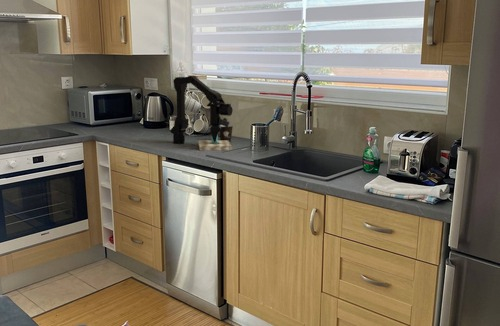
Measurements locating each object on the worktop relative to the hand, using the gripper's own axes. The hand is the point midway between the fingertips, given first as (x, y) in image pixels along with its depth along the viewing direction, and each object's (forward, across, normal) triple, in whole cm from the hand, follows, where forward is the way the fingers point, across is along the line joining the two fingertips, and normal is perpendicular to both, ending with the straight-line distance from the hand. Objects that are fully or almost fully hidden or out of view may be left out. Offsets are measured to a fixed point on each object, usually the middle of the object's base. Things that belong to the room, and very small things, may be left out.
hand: (214, 140), depth 293 cm
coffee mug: (+4, +20, -7) cm, 22 cm away
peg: (+2, 0, 0) cm, 2 cm away
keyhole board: (+4, 0, 0) cm, 4 cm away
